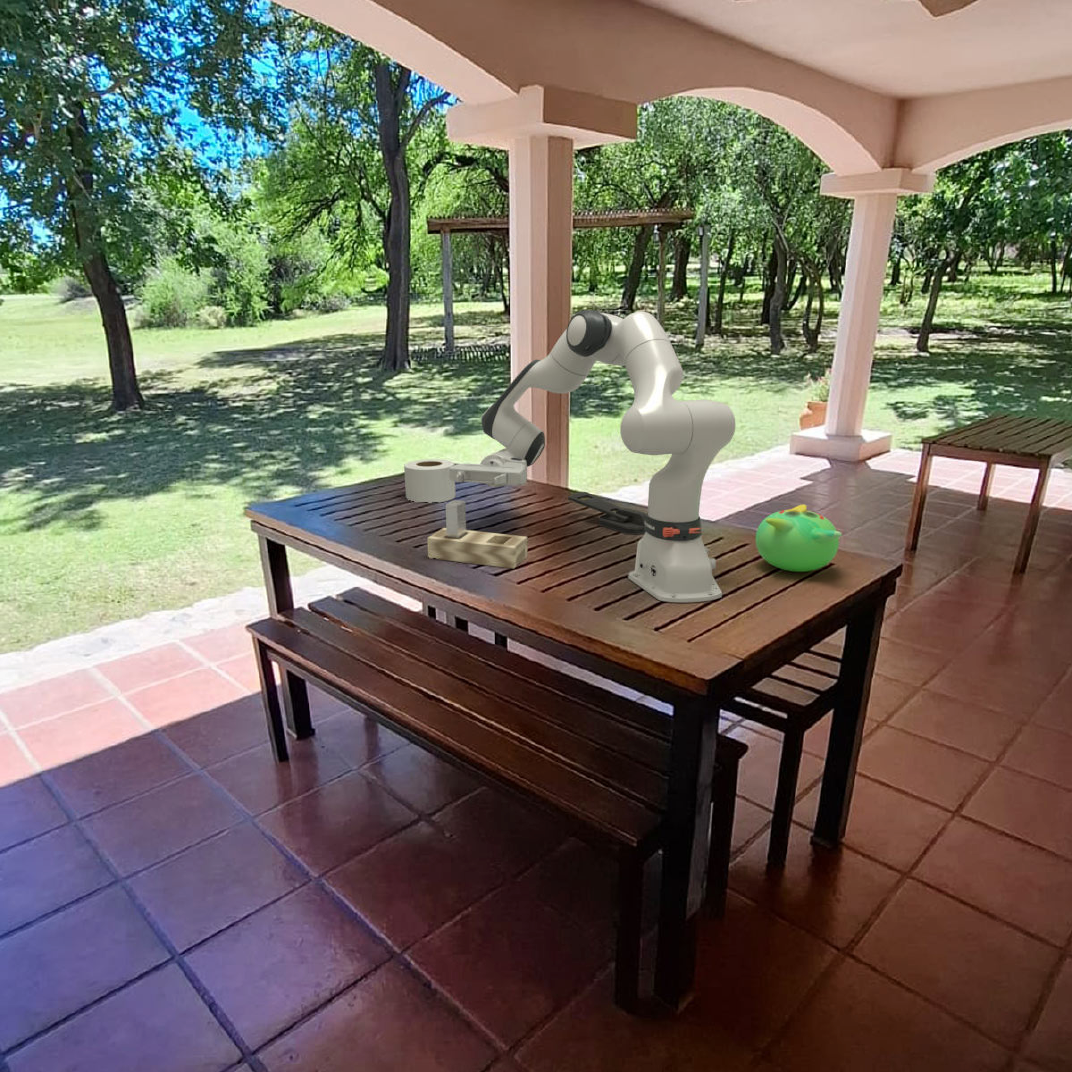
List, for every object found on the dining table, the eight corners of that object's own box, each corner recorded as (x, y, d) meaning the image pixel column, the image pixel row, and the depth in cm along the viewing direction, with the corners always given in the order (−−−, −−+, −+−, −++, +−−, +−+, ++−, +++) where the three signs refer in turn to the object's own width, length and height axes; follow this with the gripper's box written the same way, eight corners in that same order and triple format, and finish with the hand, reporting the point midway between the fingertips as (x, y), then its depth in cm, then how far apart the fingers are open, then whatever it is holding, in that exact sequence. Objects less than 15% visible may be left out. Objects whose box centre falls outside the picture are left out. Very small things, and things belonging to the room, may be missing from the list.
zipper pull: (585, 490, 215) (656, 506, 199) (584, 512, 217) (655, 530, 201) (564, 496, 209) (637, 512, 192) (564, 518, 211) (636, 537, 194)
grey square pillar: (466, 552, 181) (465, 501, 178) (458, 558, 177) (457, 505, 174) (455, 551, 182) (454, 500, 179) (447, 556, 178) (445, 504, 174)
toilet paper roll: (396, 500, 229) (394, 466, 226) (422, 489, 243) (420, 457, 240) (439, 505, 223) (438, 470, 220) (464, 494, 237) (463, 461, 234)
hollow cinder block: (527, 556, 179) (527, 536, 177) (514, 568, 171) (513, 547, 169) (444, 546, 186) (443, 527, 184) (428, 557, 178) (427, 537, 176)
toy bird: (831, 561, 177) (839, 501, 172) (838, 586, 161) (847, 521, 157) (752, 554, 181) (758, 496, 177) (752, 578, 166) (759, 514, 161)
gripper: (460, 456, 200) (437, 465, 188) (532, 460, 194) (513, 470, 181) (461, 479, 202) (438, 489, 190) (532, 483, 196) (513, 495, 183)
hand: (475, 480), depth 186 cm, fingers open, 8 cm apart
